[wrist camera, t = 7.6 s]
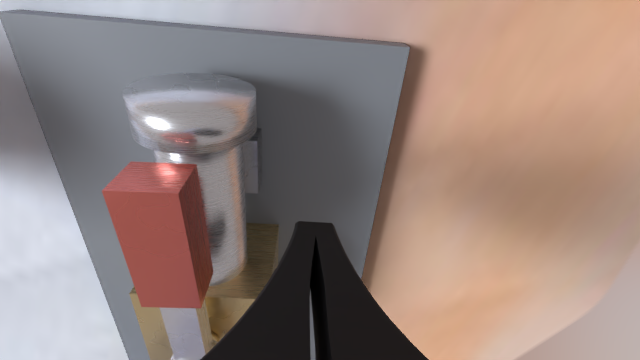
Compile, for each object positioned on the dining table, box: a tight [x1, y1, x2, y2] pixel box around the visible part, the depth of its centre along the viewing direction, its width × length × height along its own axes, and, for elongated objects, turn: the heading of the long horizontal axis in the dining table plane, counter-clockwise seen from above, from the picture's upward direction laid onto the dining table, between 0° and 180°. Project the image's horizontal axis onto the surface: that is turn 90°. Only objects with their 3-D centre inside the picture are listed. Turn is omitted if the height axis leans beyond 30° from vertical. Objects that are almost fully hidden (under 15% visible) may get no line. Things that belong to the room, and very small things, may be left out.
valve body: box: [122, 73, 279, 360], centre depth 19 cm, size 25×6×6 cm, turn 175°
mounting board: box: [0, 10, 410, 360], centre depth 23 cm, size 28×18×1 cm, turn 175°
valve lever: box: [102, 162, 218, 360], centre depth 14 cm, size 12×3×2 cm, turn 177°
